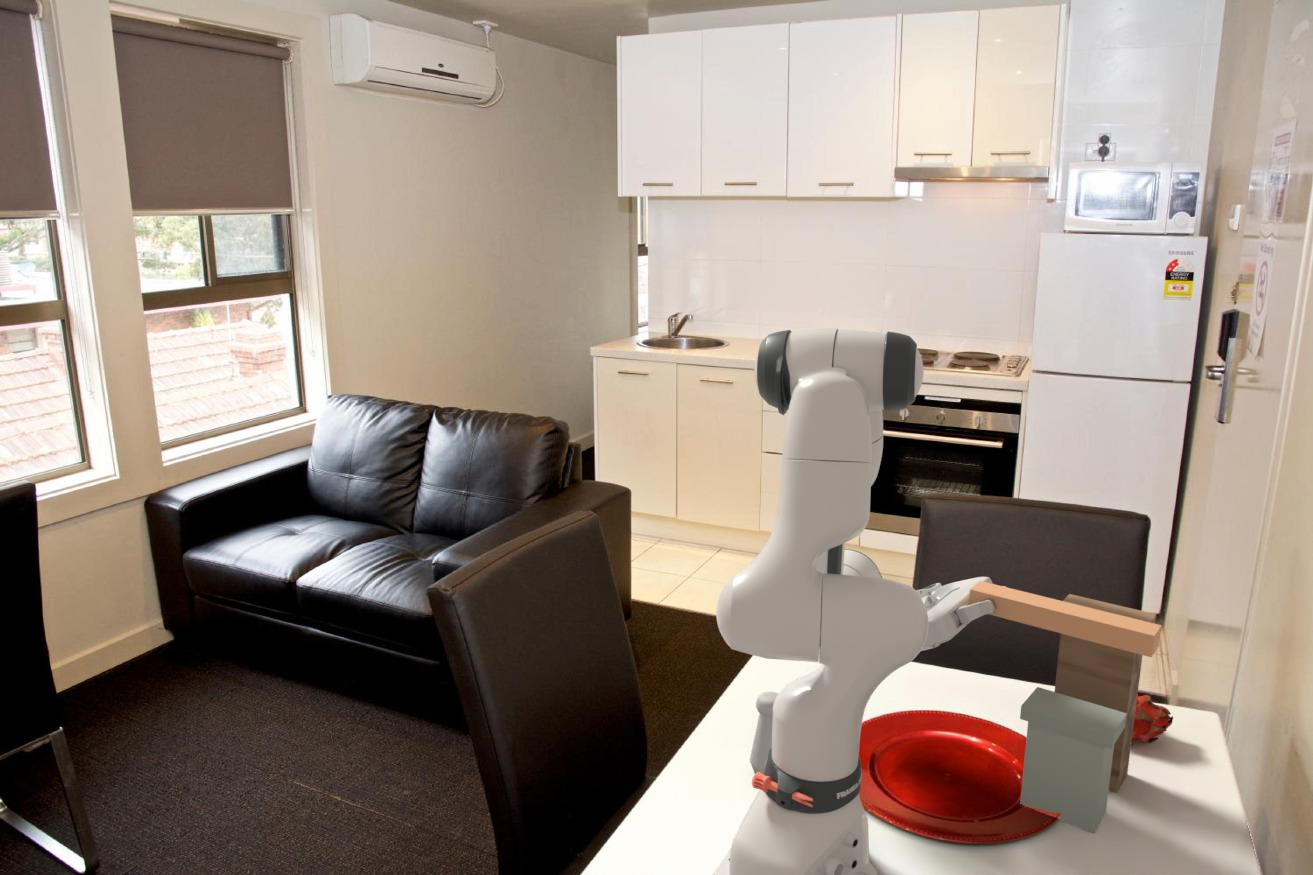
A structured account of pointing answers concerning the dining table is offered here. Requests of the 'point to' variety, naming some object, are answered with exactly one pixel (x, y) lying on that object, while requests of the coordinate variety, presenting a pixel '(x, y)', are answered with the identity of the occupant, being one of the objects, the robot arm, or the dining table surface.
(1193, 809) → the dining table surface
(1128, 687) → the tall stand
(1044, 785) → the low stand
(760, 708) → the salt shaker
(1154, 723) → the dragon fruit
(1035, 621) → the bar
